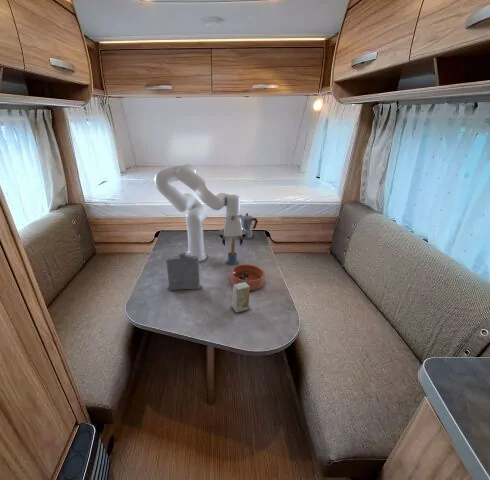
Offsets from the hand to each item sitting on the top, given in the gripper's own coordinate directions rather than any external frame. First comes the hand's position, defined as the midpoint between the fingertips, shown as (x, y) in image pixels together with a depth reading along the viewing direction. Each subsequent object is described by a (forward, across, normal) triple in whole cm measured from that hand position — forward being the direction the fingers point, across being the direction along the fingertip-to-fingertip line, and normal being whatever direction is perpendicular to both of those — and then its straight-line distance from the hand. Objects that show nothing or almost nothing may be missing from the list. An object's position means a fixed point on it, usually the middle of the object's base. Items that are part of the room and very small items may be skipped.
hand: (232, 244), depth 157 cm
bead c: (+10, -6, +18) cm, 21 cm away
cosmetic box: (+12, 0, +44) cm, 46 cm away
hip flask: (+12, +27, +26) cm, 39 cm away
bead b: (+10, -4, +24) cm, 26 cm away
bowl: (+12, -6, +22) cm, 26 cm away
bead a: (+10, -3, +21) cm, 23 cm away
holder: (+12, 0, 0) cm, 12 cm away
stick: (+12, 0, 0) cm, 12 cm away
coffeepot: (+12, -15, -41) cm, 45 cm away
